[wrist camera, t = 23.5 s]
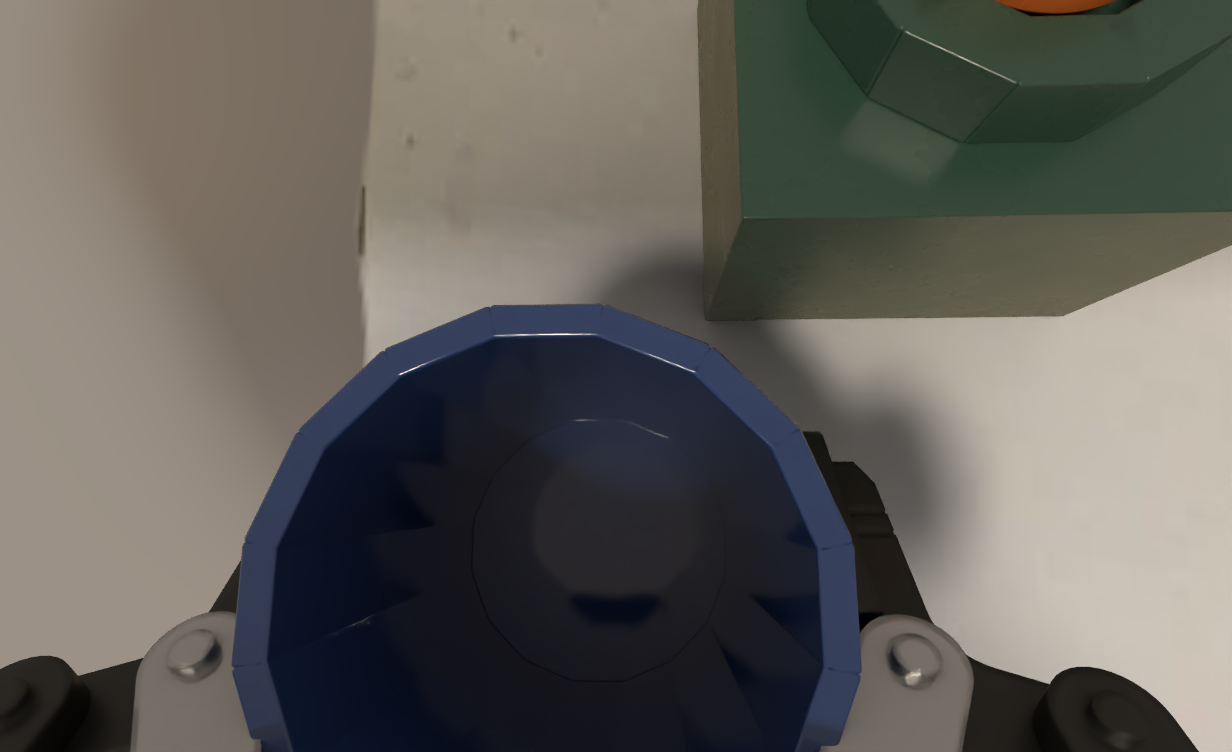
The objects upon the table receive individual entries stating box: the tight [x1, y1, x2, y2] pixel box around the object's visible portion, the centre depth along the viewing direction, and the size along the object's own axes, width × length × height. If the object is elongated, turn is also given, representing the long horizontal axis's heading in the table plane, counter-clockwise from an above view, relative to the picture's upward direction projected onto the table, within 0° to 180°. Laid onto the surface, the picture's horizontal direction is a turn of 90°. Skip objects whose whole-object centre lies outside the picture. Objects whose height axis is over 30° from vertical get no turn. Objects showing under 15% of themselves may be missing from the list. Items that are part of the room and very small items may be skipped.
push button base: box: [697, 0, 1232, 320], centre depth 15 cm, size 10×10×9 cm
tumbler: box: [231, 304, 862, 752], centre depth 11 cm, size 7×7×9 cm
